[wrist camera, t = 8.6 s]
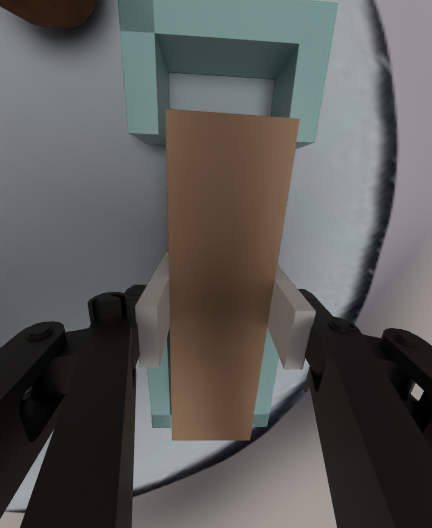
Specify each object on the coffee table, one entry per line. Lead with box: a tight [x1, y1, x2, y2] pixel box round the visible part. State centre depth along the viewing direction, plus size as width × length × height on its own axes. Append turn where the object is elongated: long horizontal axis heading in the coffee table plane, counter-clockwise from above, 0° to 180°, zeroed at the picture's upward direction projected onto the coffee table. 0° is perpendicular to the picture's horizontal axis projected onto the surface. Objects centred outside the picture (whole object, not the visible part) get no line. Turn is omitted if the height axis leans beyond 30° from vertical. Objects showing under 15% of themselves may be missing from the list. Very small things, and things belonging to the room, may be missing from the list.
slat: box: [166, 109, 300, 441], centre depth 14 cm, size 5×18×6 cm, turn 177°
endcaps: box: [118, 0, 338, 428], centre depth 16 cm, size 10×27×4 cm, turn 178°
